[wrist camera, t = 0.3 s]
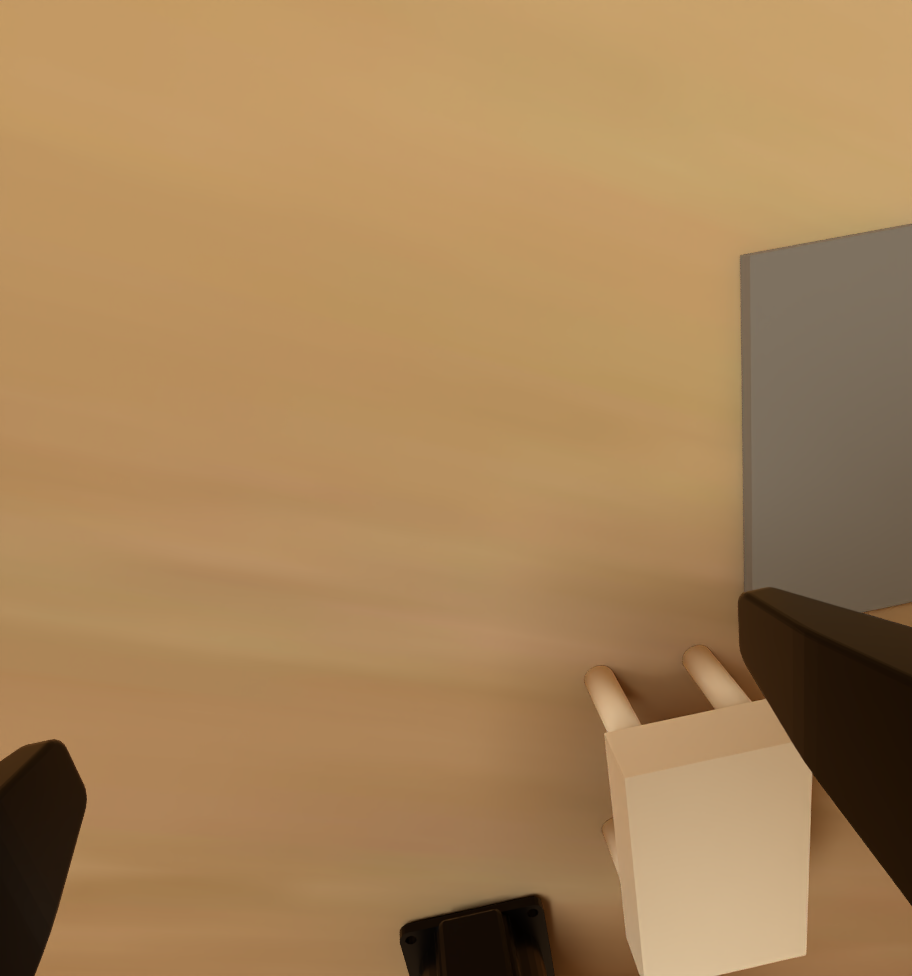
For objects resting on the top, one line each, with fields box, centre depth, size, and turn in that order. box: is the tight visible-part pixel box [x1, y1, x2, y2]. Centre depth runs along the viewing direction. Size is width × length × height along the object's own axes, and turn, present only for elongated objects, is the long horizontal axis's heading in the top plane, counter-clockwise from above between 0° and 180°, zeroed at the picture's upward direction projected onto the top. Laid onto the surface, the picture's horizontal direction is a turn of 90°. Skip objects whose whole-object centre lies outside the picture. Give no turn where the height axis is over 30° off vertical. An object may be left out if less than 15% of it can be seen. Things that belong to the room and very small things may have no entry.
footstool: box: [584, 645, 812, 976], centre depth 25 cm, size 10×6×6 cm, turn 9°
